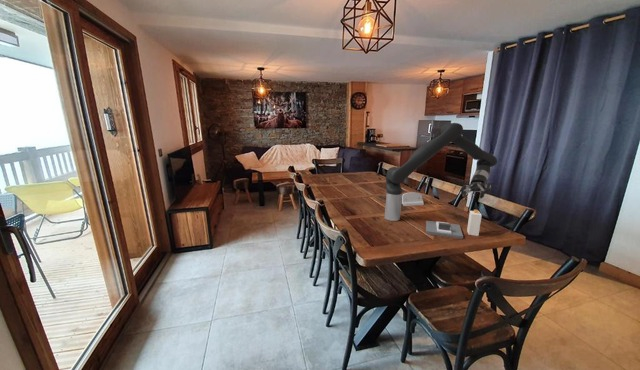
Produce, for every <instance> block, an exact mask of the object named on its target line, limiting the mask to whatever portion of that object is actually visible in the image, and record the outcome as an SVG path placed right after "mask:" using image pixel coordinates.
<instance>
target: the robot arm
mask: <svg viewBox="0 0 640 370" xmlns="http://www.w3.org/2000/svg"><path fill="white" fill-rule="evenodd" d="M463 131H464V127H463V125H462V124H461V123H458V122H450V123H445V124H444V125H442V127H441V128H440V135H438V136H437V137H435V138H432V139H431V140H428V141H427V142H424V143H423V144H421V145H420V146H419V147H418V148H417V149H416V150H414V151H413V152H412V153H411V155H410V157H409V158H408V160H407V161H406V162H405V163H403V164H402V165H401V166H399V167H396V166H391V167H389V168H388V169H387V171H386V173H385V174H386V176H385V188H386V194H385V195H386V198H385V206H384V207H385V208H384V220H387V221H389V222H390V221H391V222H397V221H399V220H401V209H402V204H401V199H402V194H403V189H402V186H401V183H403V182H404V181H405V180H406V179H407V178H408V177H410V175H411V174H412V173H414V172H415V171H416V170H417V169H419V168H420V167H421V166H422V165H424V164H425V163H426V162H427V161H428V160H430V159H431V158H433V157H434V156H436V154H438V153H439V152H440V151H441V150H442V149H444V148H445V147H447V146H448V145H449V144H451V143H453V144H454V145H456V146H457V147H458V148H460V149H461V150H462V151H464V153H466V154H467V156H469V157H470V158H472V160H475V161H476V170H475V172H474V174H473V175H472V178H471V180H470V183H469V184H466V183H463V185H462V186H461V188H460V193H461V195H462V198H463V199H466V197H467V196H468V195H467V194H468V193H469V194H470V193H472V192H480V193H479V198H480V199H483V198H484V197H485V195H486V194H490V193H491V189H492V185H491V183H487V182H488V179H489V176H490V173H491V167H494V166H497V164H498V159H497V156H495V155H494V154H493V153H492V154H491V153H489V152H487V151H485V150H483V149H482V148H481V147H480V146H479V145H477V144H476V143H474V142H472V140H469V139H467V138H465V136H463V135H462V133H463ZM485 188H486V189H485Z"/></svg>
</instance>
